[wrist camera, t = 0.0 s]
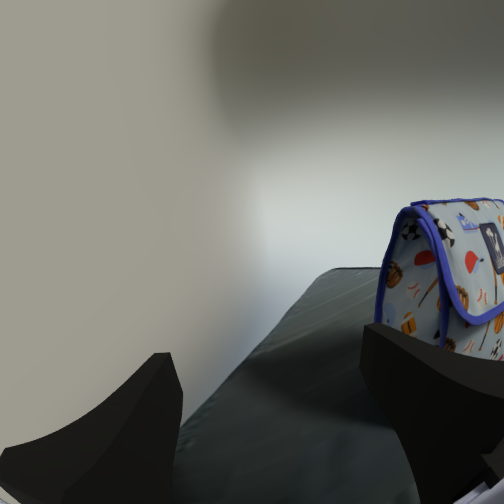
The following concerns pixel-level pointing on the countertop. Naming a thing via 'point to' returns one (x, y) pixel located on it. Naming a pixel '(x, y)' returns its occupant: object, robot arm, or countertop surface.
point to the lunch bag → (447, 276)
